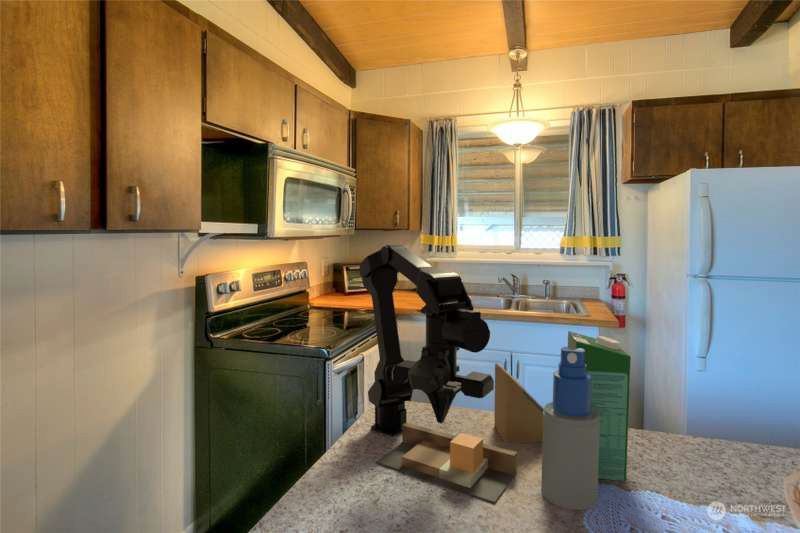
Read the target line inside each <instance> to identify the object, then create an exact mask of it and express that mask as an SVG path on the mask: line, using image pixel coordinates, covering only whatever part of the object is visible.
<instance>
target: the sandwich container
mask: <svg viewBox="0 0 800 533" xmlns="http://www.w3.org/2000/svg"><path fill="white" fill-rule="evenodd" d="M544 409H545V407H543V406H542V405H541V404H540V403H539V402H538V401H537V400H536V399H535V398H534V397H533V396H532V395H531V394H530V393H529V392H528V391H527V390H526V389H525V388H524V386H523V385H522V384H520V383H519V381H518V380H517V379H516V378H514V377H513V376H512V375H511V374H510V373H509V372H508V371H507V370H506V369H505V368H503V367H502V366H501V365H500V364H499V363H497V362H496V363H495V364H494V424H493V425H495V426H494V428H495V427H496V428H497V429H498V430H497V429H496V428H495V429H496V430H497V432H498V431H499V432H498V434H499V435H500V434H501V435H502V436H501V435H500V436H501V437H502V438H504V439H503V440H504V442H505V441H506V443H525V442H527V443H528V442H542V441H543V411H544Z"/></svg>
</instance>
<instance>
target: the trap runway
mask: <svg viewBox="0 0 800 533" xmlns="http://www.w3.org/2000/svg"><path fill="white" fill-rule="evenodd" d="M401 433H402V434H401V442H400V443H399V444H397V445H396V446H395V447H394V448H392V449H391V450H389V451H388V452H387V453H385V454H384V455H383V456H381V457H380V458H379V459H378V460H376V461H375V464H377V465H381V466H384V467H385V468H389V469H393V470H394V471H398V472H400V473H403V474H406V475H410V476H413V477H416V478H419V479H421V480H424V481H427V482H430V483H433V484H436V485H438V486H443V487H445V488H448V489H451V490H453V491H457V492H460V493H463V494H465V495H469V496H471V497H474V498H477V499H480V500H483V501H486V502H489V503H492V504H496V503H497V501H498V500H499V499H500V498H501V496H502V494H503V493H504V492H505V491H506V490H507V488H508V486H509V485H510V483H511V482H512V480H513V479H514V478H515V477H516V475H517V474H518V473H517V464H518V457H517V456H518V452H517V451H515V450H514V451H513V450H509V449H505V448H502V447H498V446H494V445H490V444H486V443H484V442H483V463H482V464H481V465H480V466H479V467H478V468H477V469H476V470H475V472H474V473H471V472H467V471H464V470H461V469H458V468H455V467H451V466H450V442H451V441H452V440H453V439H454V438H455V437H456V436H457V435H453V434H449V433H448V432H447V433H446V432H442V431H439V430H435V429H431V428H429V427H428V428H427V427H423V426H419V425H417V424H413V423H409V422H407V423H405V424H403V425H402V431H401Z"/></svg>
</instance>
